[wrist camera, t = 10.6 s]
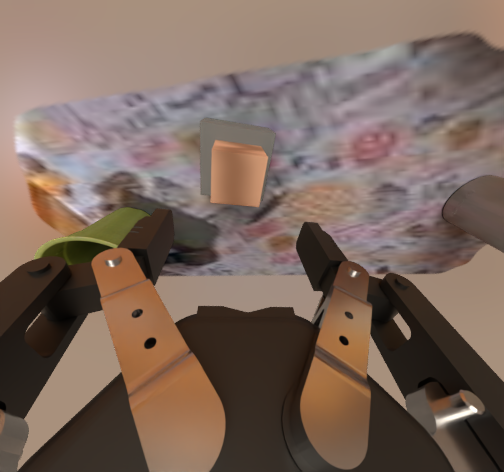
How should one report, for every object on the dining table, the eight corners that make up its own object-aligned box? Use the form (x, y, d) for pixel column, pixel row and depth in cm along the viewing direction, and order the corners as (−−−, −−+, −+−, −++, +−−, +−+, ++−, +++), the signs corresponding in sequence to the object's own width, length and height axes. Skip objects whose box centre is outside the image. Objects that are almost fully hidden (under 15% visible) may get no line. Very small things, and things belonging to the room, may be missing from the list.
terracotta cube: (261, 146, 21) (268, 157, 17) (254, 188, 24) (259, 206, 20) (215, 139, 20) (211, 149, 16) (214, 184, 23) (210, 202, 19)
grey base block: (268, 128, 24) (275, 133, 20) (258, 186, 29) (262, 200, 25) (205, 117, 23) (199, 121, 19) (205, 180, 28) (200, 194, 24)
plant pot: (156, 262, 36) (131, 316, 27) (86, 231, 31) (25, 286, 22) (187, 220, 31) (169, 269, 22) (110, 175, 26) (45, 216, 17)
